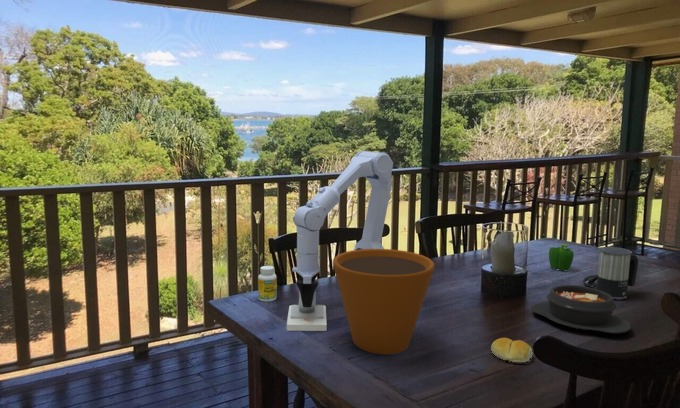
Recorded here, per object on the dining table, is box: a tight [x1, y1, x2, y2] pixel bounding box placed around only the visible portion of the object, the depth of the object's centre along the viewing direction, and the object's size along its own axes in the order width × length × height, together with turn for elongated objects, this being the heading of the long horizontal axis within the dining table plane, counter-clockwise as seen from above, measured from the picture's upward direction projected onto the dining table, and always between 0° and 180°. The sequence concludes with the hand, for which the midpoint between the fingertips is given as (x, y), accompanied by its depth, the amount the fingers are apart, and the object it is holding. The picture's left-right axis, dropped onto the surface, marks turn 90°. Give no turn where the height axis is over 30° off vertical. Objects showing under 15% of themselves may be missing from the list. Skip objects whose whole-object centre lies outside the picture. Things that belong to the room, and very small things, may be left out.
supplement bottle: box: [257, 265, 278, 303], centre depth 155 cm, size 5×5×10 cm
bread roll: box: [490, 337, 534, 362], centre depth 120 cm, size 8×9×4 cm
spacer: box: [298, 290, 317, 313], centre depth 140 cm, size 4×4×6 cm
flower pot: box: [332, 248, 435, 355], centre depth 126 cm, size 24×24×20 cm
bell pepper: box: [548, 243, 574, 271], centre depth 193 cm, size 8×8×10 cm
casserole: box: [530, 284, 632, 335], centre depth 141 cm, size 25×19×8 cm
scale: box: [286, 304, 328, 332], centre depth 139 cm, size 10×14×2 cm
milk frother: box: [582, 246, 639, 297], centre depth 168 cm, size 14×16×15 cm
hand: (307, 301), depth 140 cm, fingers open, 7 cm apart
